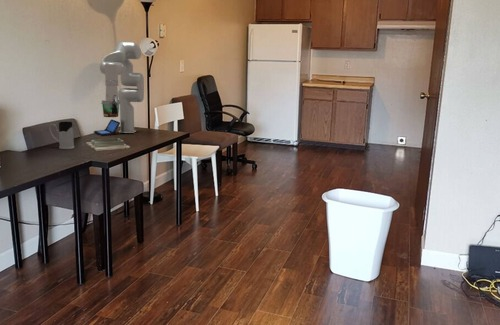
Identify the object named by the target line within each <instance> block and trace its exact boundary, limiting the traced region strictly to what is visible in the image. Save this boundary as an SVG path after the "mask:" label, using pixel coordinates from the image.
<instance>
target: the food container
mask: <svg viewBox="0 0 500 325" xmlns="http://www.w3.org/2000/svg"><path fill="white" fill-rule="evenodd" d="M114 102H115V101H113V102H111V103H110V101H106V100H103V99H102V100H101V105H102V114H103V118H118V117H119V114H120V101H119V99H118V103H117V114H112V103H113V105H114Z"/></svg>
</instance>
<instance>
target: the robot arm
mask: <svg viewBox="0 0 500 325" xmlns="http://www.w3.org/2000/svg"><path fill="white" fill-rule="evenodd" d="M141 57H142V50H141V48H140V46H139V45H138V43H136V42H134V41H118V42H116V44H115V46H114V49H113V51H112V52H110V53H108V54H106V55H105V56H104V57H102V59H101V62H100V64H99V72H100V73H101V74H103V75H104V79H105V101H110V103H111V102H113V101H115V102H114V105H113V103H112V114H117V103H118V100H119V101H120V104H119V116H120V117H119V119H120V121H119V122H120V124H119V127H120V130H118V132H119V133H118V134H120V133H134V132H136V131H137V130H135V108H134V106H133V104H132V103H142V102H143V101H144V99H145V79H144V78H145V76H144V74H143V73H141V72H134V64H133V63H132V61H131V60H140V59H141ZM119 75H120V76H119ZM119 77H120V79H119ZM119 80H120V84H121V85H122V86H124V87H123V88H120V89H119V90H118V87H119ZM132 87H133V88H132ZM134 87H136V88H134ZM134 134H135V133H134Z"/></svg>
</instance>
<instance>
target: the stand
mask: <svg viewBox="0 0 500 325" xmlns="http://www.w3.org/2000/svg"><path fill="white" fill-rule="evenodd" d="M85 144H86V145H87V146H88V147H90V148H91V149H93V150H95V151H96V152H99V151H100V152H101V151H111V150H113V151H114V150H125V148H126V149H130V148H131V146H130V145H128V144H126V143H125V140H123V139H121V138H119V137H112V138H111V137H110V138H101V139H97V138H96V139H91V140H90V142H89V141H88V142H86V143H85Z"/></svg>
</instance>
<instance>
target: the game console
mask: <svg viewBox="0 0 500 325" xmlns="http://www.w3.org/2000/svg"><path fill="white" fill-rule="evenodd" d="M119 127H120V121H117V120H114V119H113V118H112V119H110V121H109V122H108V124H107V126H106V127H105V129H103V130H94V131H93V133H94V134H96V135H97V136H100V135H101V137H108V136H109V135H110V136H115V135H116V134H115V133H116V131H117V129H118V128H119ZM107 135H108V136H107Z"/></svg>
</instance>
